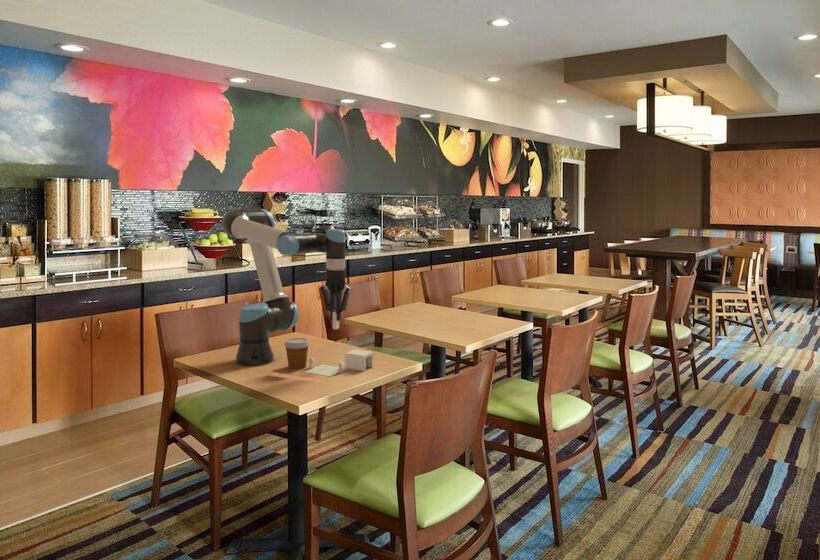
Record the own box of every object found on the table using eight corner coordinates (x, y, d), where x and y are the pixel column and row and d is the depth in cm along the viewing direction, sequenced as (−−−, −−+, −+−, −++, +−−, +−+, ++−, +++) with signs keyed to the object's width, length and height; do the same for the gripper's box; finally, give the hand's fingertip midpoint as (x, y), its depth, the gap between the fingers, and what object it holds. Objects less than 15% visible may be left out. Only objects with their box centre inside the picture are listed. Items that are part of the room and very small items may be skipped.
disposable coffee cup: (304, 374, 241) (304, 344, 239) (281, 373, 243) (280, 342, 241) (313, 368, 250) (312, 338, 249) (290, 366, 252) (290, 337, 251)
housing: (345, 368, 245) (345, 353, 245) (354, 364, 251) (354, 349, 250) (364, 371, 241) (364, 355, 241) (373, 367, 247) (373, 352, 246)
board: (300, 375, 240) (300, 361, 240) (329, 363, 257) (329, 351, 256) (347, 382, 231) (347, 369, 230) (373, 370, 248) (373, 357, 247)
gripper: (316, 269, 244) (316, 328, 248) (346, 271, 240) (346, 331, 243) (325, 267, 251) (325, 325, 254) (355, 268, 247) (355, 328, 250)
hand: (335, 328), depth 249 cm, fingers closed
